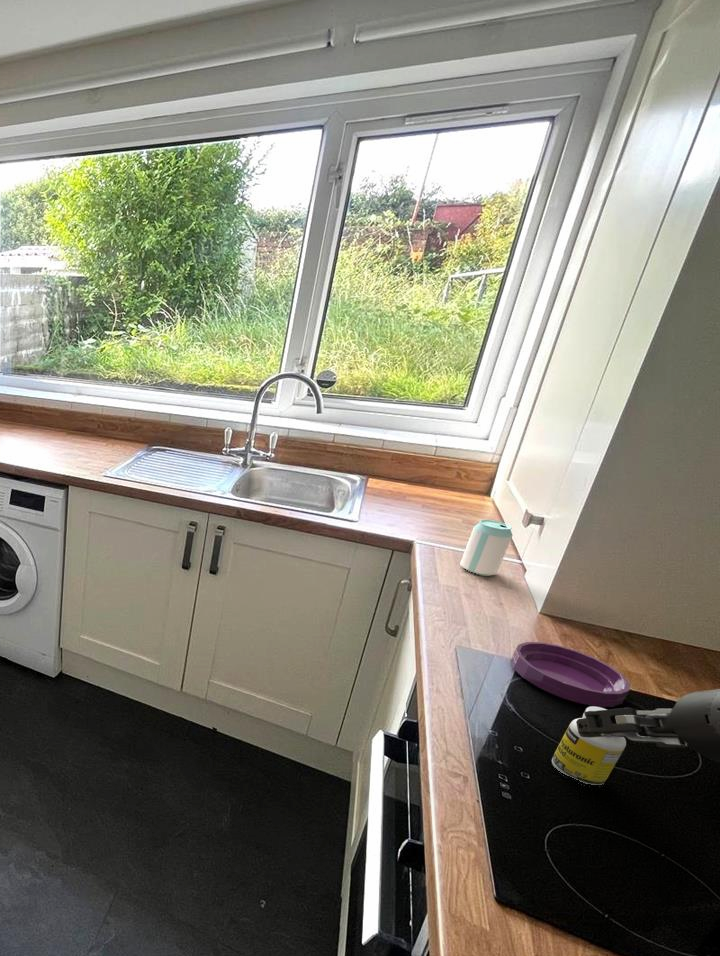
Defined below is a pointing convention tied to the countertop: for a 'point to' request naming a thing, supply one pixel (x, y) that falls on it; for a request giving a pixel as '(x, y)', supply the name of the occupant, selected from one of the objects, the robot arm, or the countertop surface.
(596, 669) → the dish
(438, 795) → the countertop surface
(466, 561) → the can
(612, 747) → the supplement bottle
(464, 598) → the countertop surface
